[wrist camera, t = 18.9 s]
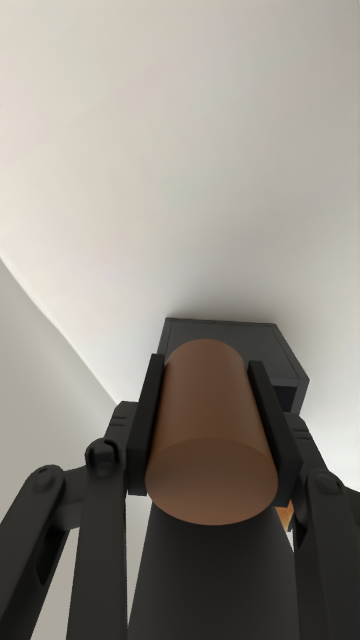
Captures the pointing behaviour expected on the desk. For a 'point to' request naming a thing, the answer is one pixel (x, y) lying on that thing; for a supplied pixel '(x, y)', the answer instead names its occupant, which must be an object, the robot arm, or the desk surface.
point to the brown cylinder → (209, 439)
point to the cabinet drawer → (215, 581)
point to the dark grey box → (246, 352)
